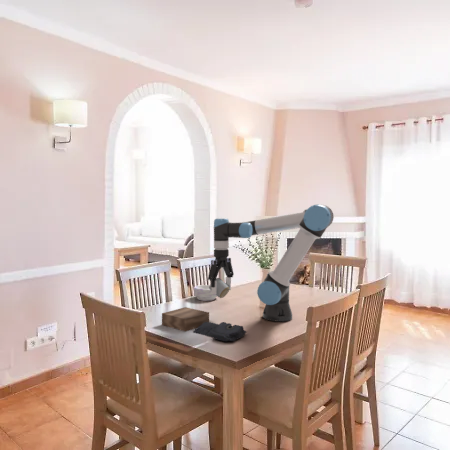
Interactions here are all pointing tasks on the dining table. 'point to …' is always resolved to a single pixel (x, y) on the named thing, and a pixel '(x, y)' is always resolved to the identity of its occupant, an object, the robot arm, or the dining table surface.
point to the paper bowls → (204, 293)
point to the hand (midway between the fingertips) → (221, 291)
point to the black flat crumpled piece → (221, 331)
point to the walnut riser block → (184, 318)
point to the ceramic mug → (221, 288)
